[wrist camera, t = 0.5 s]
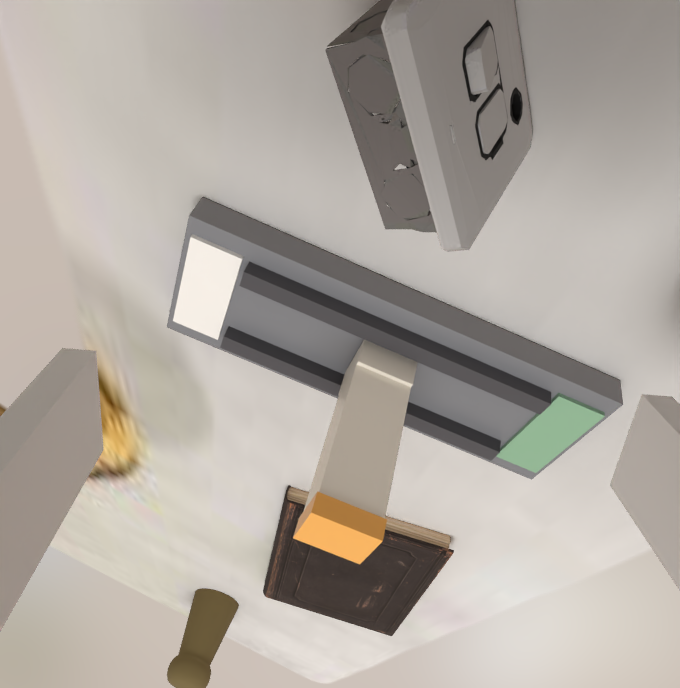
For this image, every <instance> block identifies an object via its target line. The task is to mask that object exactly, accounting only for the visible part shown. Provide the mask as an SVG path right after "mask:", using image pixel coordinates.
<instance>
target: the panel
mask: <svg viewBox="0 0 680 688" xmlns="http://www.w3.org/2000/svg"><path fill="white" fill-rule="evenodd" d="M167 327H168V328H170V329H172V330H175V331H177V332H180V333H182V334H184V335H187V336H189V337H192V338H194V339H196V340H199V341H201V342H204V343H206V344H208V345H211V346H213V347H216V348H218V349H220V350H223V351H225V352H228V353H230V354H232V355H235V356H237V357H239V358H242V359H244V360H247V361H249V362H251V363H254V364H256V365H259V366H261V367H263V368H266V369H268V370H271V371H273V372H275V373H278V374H280V375H283V376H285V377H287V378H290V379H292V380H295V381H297V382H299V383H302V384H304V385H307V386H309V387H311V388H314V389H316V390H319V391H321V392H323V393H326V394H328V395H331V396H333V397H335V398H338V397H339V395H338V394H339V391H340V388H341V385H342V381H343V378H344V375H345V372H346V370H347V368H348V367H349V365H350V363H351V362H352V360H353V358H354V356H355V355H356V353H357V351H358V349H359V348H360V346H361V344H362V343H363V341H364V340H367V341H369V342H371V343H374V344H376V345H378V346H381V347H383V348H385V349H388V350H390V351H392V352H395V353H397V354H399V355H402V356H404V357H406V358H409V359H411V360H413V361H416V362H417V367H416V372H415V377H414V382H413V385H412V387H411V390H410V395H409V400H408V405H407V410H406V415H405V420H404V425H403V426H405V427H407V428H410V429H412V430H414V431H417V432H419V433H422V434H424V435H426V436H429V437H431V438H434V439H436V440H438V441H441V442H443V443H446V444H448V445H450V446H453V447H455V448H458V449H460V450H462V451H465V452H467V453H470V454H472V455H474V456H477V457H479V458H482V459H484V460H486V461H489V462H491V463H494V464H496V465H498V466H501V467H503V468H505V469H508V470H510V471H513V472H515V473H517V474H520V475H522V476H525V477H527V478H529V479H533V478H534V477H535V476H536V475H538V474H539V473H540V472H541V471H542V470H544V469H545V468H546V467H547V466H549V465H550V464H551V463H552V462H553V461H555V460H556V459H557V458H558V457H560V456H561V455H562V454H563V453H564V452H566V451H567V450H568V449H569V448H571V447H572V446H573V445H574V444H575V443H577V442H578V441H579V440H580V439H582V438H583V437H584V436H585V435H586V434H588V433H589V432H590V431H591V430H593V429H594V428H595V427H596V426H597V425H599V424H600V423H601V422H602V421H604V420H605V419H606V418H607V417H608V416H610V415H611V414H612V413H613V412H614V411H616V410H617V409H618V408H619V407H621V406H622V405H623V400H622V391H621V383H620V380H618V379H616V378H614V377H611V376H609V375H607V374H604V373H602V372H600V371H598V370H595V369H593V368H591V367H589V366H586V365H584V364H582V363H579V362H577V361H575V360H573V359H570V358H568V357H566V356H564V355H561V354H559V353H557V352H554V351H552V350H550V349H548V348H545V347H543V346H541V345H538V344H536V343H534V342H532V341H529V340H527V339H525V338H523V337H520V336H518V335H516V334H513V333H511V332H509V331H507V330H504V329H502V328H500V327H498V326H495V325H493V324H491V323H488V322H486V321H484V320H482V319H479V318H477V317H475V316H472V315H470V314H468V313H466V312H463V311H461V310H459V309H457V308H454V307H452V306H450V305H447V304H445V303H443V302H441V301H438V300H436V299H434V298H432V297H429V296H427V295H425V294H422V293H420V292H418V291H416V290H413V289H411V288H409V287H407V286H404V285H402V284H400V283H397V282H395V281H393V280H391V279H388V278H386V277H384V276H381V275H379V274H377V273H375V272H372V271H370V270H368V269H366V268H363V267H361V266H359V265H356V264H354V263H352V262H350V261H347V260H345V259H343V258H341V257H338V256H336V255H334V254H331V253H329V252H327V251H325V250H322V249H320V248H318V247H315V246H313V245H311V244H309V243H306V242H304V241H302V240H300V239H297V238H295V237H293V236H290V235H288V234H286V233H284V232H281V231H279V230H277V229H275V228H272V227H270V226H268V225H265V224H263V223H261V222H259V221H256V220H254V219H252V218H249V217H247V216H245V215H243V214H240V213H238V212H236V211H234V210H231V209H229V208H227V207H224V206H222V205H220V204H218V203H215V202H213V201H211V200H209V199H206V198H204V197H202V199H201V200H200V201H199V203H198V204H197V205H196V207H195V208H194V210H193V211H192V212H191V214H190V215H189V219H188V224H187V229H186V234H185V239H184V244H183V249H182V254H181V259H180V264H179V269H178V274H177V279H176V284H175V289H174V294H173V299H172V304H171V309H170V314H169V319H168V324H167Z"/></svg>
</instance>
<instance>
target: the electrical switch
mask: <svg viewBox="0 0 680 688" xmlns="http://www.w3.org/2000/svg"><path fill="white" fill-rule="evenodd" d="M346 43H349V44H346ZM340 44H344V45H340ZM333 45H340V46H335V47H331V48H327V49H326V53H327V56H328V59H329V62H330V65H331V68H332V71H333V74H334V77H335V80H336V83H337V86H338V89H339V92H340V95H341V98H342V101H343V104H344V107H345V110H346V113H347V116H348V119H349V122H350V125H351V128H352V131H353V134H354V137H355V140H356V143H357V146H358V149H359V152H360V155H361V158H362V161H363V164H364V167H365V170H366V173H367V176H368V179H369V182H370V184H371V187H372V190H373V193H374V196H375V199H376V202H377V205H378V208H379V211H380V214H381V217H382V220H383V223H384V226H385V229H413V230H417V231H421V232H437V235H438V239H439V242H440V246H441V249H442V250H445V251H460V250H469V249H470V247H471V245H472V244H473V242H474V240H475V239H476V237H477V235H478V234H479V232H480V230H481V229H482V227H483V225H484V224H485V222H486V221H487V219H488V217H489V216H490V214H491V212H492V211H493V209H494V207H495V206H496V204H497V202H498V201H499V199H500V197H501V196H502V194H503V192H504V191H505V189H506V187H507V186H508V184H509V182H510V181H511V179H512V177H513V176H514V174H515V172H516V171H517V169H518V167H519V166H520V164H521V162H522V161H523V159H524V157H525V156H526V154H527V152H528V151H529V149H530V147H531V141H532V134H533V129H532V122H531V115H530V108H529V101H528V94H527V86H526V79H525V72H524V65H523V58H522V51H521V44H520V37H519V30H518V23H517V16H516V9H515V2H514V0H380V1H379V2H378V3H377V4H376V5H374V6H373V7H372V8H371V9H370V10H369V11H367V12H366V13H365V14H364V15H363V16H362V17H360V18H359V19H358V20H357V21H356V22H355V23H353V24H352V25H351V26H350V27H349V28H348V29H346V30H345V31H344V32H343V33H342V34H341V35H339V36H338V37H337V38H336V39H335V40H334V41H332V42H331V43H330V44H329V45H328V46H333ZM380 58H381V59H380ZM382 59H385V60H388V61H389V62H390V63H389V62H387V61H384V60H382ZM348 87H349V92H350V93H349V92H348ZM399 99H400V101H399V104H398V106H397V107H395V106H396V104H397V102H398V100H399ZM372 113H379V114H378V115H375V116H374V115H373V114H372ZM400 119H401V121H402V122H401V121H400ZM388 120H391V121H388ZM384 121H387V122H384ZM399 164H402V165H405V166H406V169H399V170H394V169H395V168H396V167H397V166H398V165H399ZM384 182H385V184H384ZM386 203H387V204H386ZM387 205H388V206H389V207H388V206H387Z"/></svg>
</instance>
